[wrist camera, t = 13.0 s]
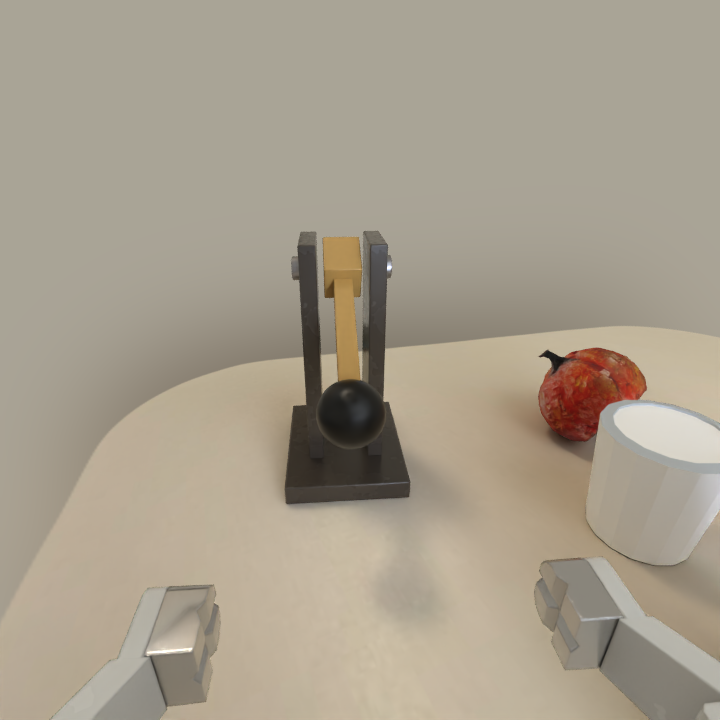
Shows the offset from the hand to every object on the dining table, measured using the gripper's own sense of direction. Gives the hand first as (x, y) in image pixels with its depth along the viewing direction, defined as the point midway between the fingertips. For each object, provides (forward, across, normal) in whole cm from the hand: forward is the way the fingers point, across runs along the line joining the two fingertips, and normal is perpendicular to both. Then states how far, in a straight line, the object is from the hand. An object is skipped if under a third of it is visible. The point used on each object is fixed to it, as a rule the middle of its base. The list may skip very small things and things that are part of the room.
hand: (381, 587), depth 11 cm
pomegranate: (+21, -19, +11) cm, 30 cm away
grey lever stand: (+20, 0, +11) cm, 22 cm away
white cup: (+11, -17, +11) cm, 23 cm away
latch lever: (+16, 0, +1) cm, 16 cm away
